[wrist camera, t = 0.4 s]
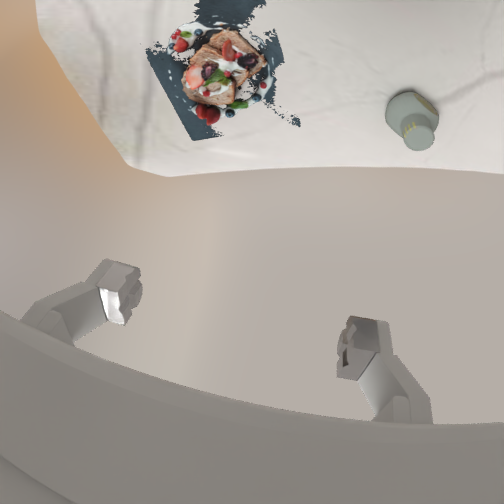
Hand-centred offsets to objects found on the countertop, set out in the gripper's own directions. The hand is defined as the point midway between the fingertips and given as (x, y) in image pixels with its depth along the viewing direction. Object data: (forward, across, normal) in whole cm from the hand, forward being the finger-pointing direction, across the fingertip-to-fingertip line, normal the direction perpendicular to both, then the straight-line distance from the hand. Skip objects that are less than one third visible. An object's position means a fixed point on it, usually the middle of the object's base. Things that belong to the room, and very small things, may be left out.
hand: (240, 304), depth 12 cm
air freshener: (+56, -21, -4) cm, 60 cm away
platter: (+54, +17, -4) cm, 57 cm away
